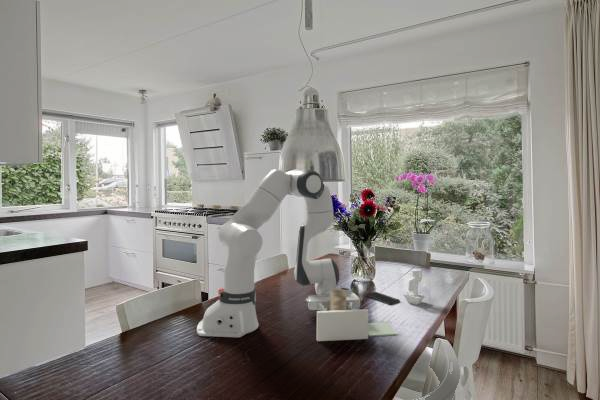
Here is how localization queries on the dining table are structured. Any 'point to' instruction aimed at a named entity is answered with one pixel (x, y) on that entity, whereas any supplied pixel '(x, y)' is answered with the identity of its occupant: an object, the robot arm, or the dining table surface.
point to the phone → (382, 298)
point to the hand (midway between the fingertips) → (337, 309)
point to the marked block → (337, 300)
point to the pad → (380, 329)
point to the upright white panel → (342, 325)
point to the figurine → (414, 288)
